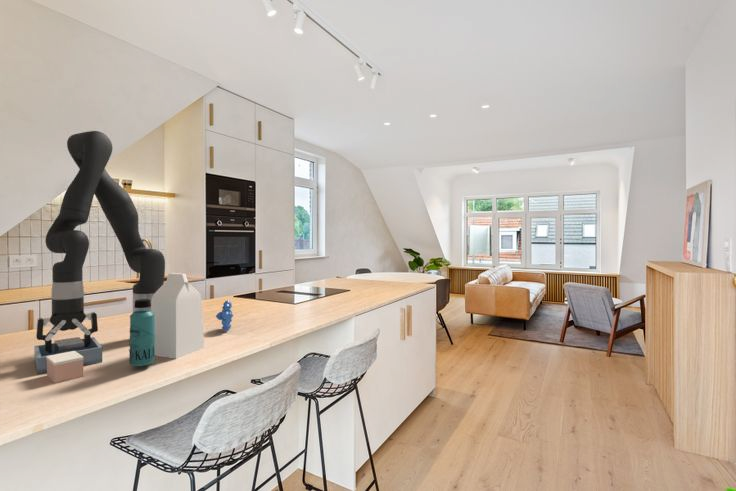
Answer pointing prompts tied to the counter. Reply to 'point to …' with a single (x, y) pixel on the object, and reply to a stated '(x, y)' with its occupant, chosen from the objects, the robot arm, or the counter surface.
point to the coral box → (64, 366)
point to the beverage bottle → (142, 334)
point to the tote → (89, 353)
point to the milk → (177, 318)
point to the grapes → (225, 315)
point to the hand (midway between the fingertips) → (68, 349)
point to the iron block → (68, 345)
